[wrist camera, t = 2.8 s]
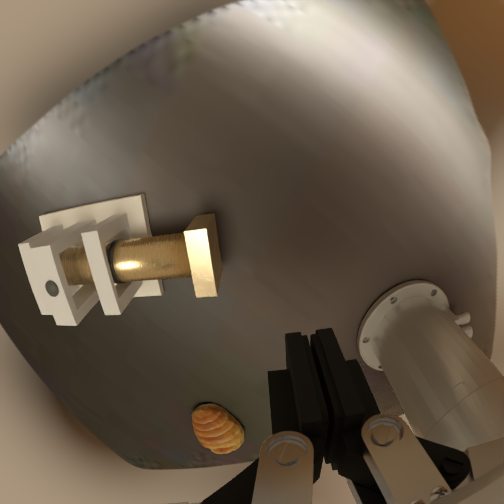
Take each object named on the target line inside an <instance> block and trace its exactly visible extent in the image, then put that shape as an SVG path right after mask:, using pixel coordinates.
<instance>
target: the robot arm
mask: <svg viewBox="0 0 504 504" xmlns="http://www.w3.org/2000/svg"><path fill="white" fill-rule="evenodd" d="M469 321H470V314H469V313H468V312H465V313H462V314H459V315H455V314H454V313H453V312H452V311H451V310H450V309H449V303H448V299H447V297H446V295H445V294H444V292H443V291H442V290H441V289H440V288H439V287H438V286H436V285H435V284H433V283H432V282H429V281H425V280H414V281H408V282H405V283H402V284H400V285H398V286H396V287H394V288H392V289H390V290H389V291H388V292H386V293H385V294H384V295H382V296H381V297H380V298H379V299H378V300H377V301H376V302H375V303H374V304H373V305H372V307H371V308H370V309H369V310H368V312H367V313H366V315H365V317H364V319H363V320H362V322H361V325H360V328H359V331H358V337H357V346H358V350H359V353H360V355H361V357H362V359H363V361H364V362H365V363H366V364H367V365H368V366H370V367H371V368H373V369H376V370H379V371H384V373H385V375H386V377H387V379H388V381H389V383H390V385H391V387H392V389H393V391H394V393H395V395H396V397H397V399H398V401H399V403H400V405H401V407H402V409H403V411H404V413H405V415H406V417H407V419H408V421H409V424H410V426H411V428H412V430H413V432H414V434H415V435H414V434H413V432H412V431H411V429H410V428H409V426H408V425H407V423H406V422H405V421H404V420H403V419H402V418H400V417H399V416H397V415H394V414H390V413H382V414H381V413H380V411H379V409H378V406H377V404H376V401H375V399H374V397H373V394H372V392H371V390H370V388H369V385H368V383H367V381H366V378H365V376H364V374H363V372H362V369H361V367H360V365H359V363H358V361H357V360H356V359H354V360H348V361H345V359H344V356H343V354H342V351H341V349H340V347H339V344H338V342H337V339H336V337H335V335H334V332H333V330H332V328H327V329H319V330H316V334H312V335H311V339H310V345H309V341H308V338H307V335H304V336H302V335H301V332H296V333H287V334H285V344H286V366H287V369H286V370H277V371H268V382H269V395H270V408H271V420H272V433H273V435H272V436H270V437H269V438H267V439H266V440H265V442H264V443H263V444H262V447H261V450H260V456H259V458H258V459H257V460H255V461H254V462H253V463H252V464H251V465H250V466H248V467H247V468H246V469H245V470H243V471H242V472H241V473H240V474H238V475H237V476H236V477H235V478H233V479H232V480H231V481H229V482H228V483H227V484H225V485H224V486H223V487H221V488H220V489H219V490H217V491H216V492H215V493H213V494H212V495H210V496H209V497H208V498H206V499H205V500H203V501H202V502H200V503H191V504H312V495H313V484H314V483H315V482H316V481H317V480H318V478H319V477H320V472H321V467H322V462H323V457H324V459H325V463H326V464H329V463H331V466H332V470H337V469H338V474H339V475H341V476H344V477H345V478H346V480H347V483H348V485H349V488H350V490H351V492H352V494H353V497H354V499H355V501H356V503H357V504H504V376H503V375H502V374H501V373H500V371H499V370H498V369H497V368H496V367H495V365H494V364H493V363H492V362H491V361H490V360H489V358H488V357H487V356H486V355H485V354H484V353H483V352H482V351H481V349H480V348H479V347H478V346H477V345H476V344H475V343H474V342H473V341H472V340H471V338H472V336H473V330H472V328H471V326H470V325H466V326H463V327H459V326H458V325H462V324H466V323H469ZM170 504H189V503H188V502H182V503H170Z"/></svg>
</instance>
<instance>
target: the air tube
mask: <svg viewBox="0 0 504 504" xmlns="http://www.w3.org/2000/svg"><path fill="white" fill-rule="evenodd" d="M104 247H105V251H106V255H107V259H108V263H109V267H110V270H111V274H112V277H113V281H114V283H116V284H121V283H127V282H133V281H146V280H159V279H172V278H184V277H192V278H193V283H194V288H195V293H196V297H209V296H217V294H218V289H219V284H220V280H221V275H222V271H223V268H222V261H221V254H220V248H219V241H218V233H217V226H216V219H215V213H213V214H204V215H196V217H195V218H194V219H193V220H192V222H191V223H190V224H189V226H188V227H187V228H186V229H185V231H184V233H176V234H168V235H159V236H151V237H143V238H135V239H127V240H122V239H118V240H112V241H111V242H105V243H104ZM59 257H60V260H61V264H62V267H63V270H64V274H65V277H66V280H67V283H68V286H73V285H89V284H95V283H94V280H93V276H92V273H91V270H90V266H89V263H88V259H87V255H86V251H85V248H84V245H83V246H76V247H69V248H67V249H66V250H64V251H63V252H61V253H60V254H59Z"/></svg>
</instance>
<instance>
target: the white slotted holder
mask: <svg viewBox="0 0 504 504" xmlns="http://www.w3.org/2000/svg"><path fill="white" fill-rule="evenodd" d="M39 218H40V223H41V227H42V231H43V232H41V233H39V234H37V235H35V236H33V237H31V238H29V239H27V240H26V241H24V242H22V243H20V244H18V246H19V249H20V253H21V256H22V260H23V263H24V266H25V269H26V272H27V275H28V278H29V281H30V284H31V287H32V290H33V293H34V295H35V298H36V301H37V303H38V306H39V308H40V311H41V313H42V315H53V317H54V319H55V321H56V324H57V325H70V326H77V325H78V324H79V323H80V321H81V320H82V319H83V318H84V317H85V316H86V314H87V313H88V312H89V311H90V310H91V309H92V307H93V306H94V305H95V304H96V303H97V302H98V300H99V299H100V302H101V304H102V307H103V310H104V313H105V315H121V314H122V312H123V311H124V309H125V308H126V307H127V305H128V304H129V302H130V301H131V300H132V298H133V297H141V296H158V295H162V294H163V292H164V288H163V284H162V280H161V279H159V280H146V281H133V282H127V283H121V284H116V283H114V281H113V277H112V274H111V270H110V267H109V263H108V259H107V255H106V251H105V247H104V243H105V242H111V241H112V240H118V239H122V240H127V239H135V238H143V237H151V236H152V234H151V229H150V224H149V218H148V213H147V207H146V201H145V195H144V194H139V195H133V196H128V197H122V198H117V199H112V200H107V201H101V202H97V203H92V204H87V205H82V206H78V207H73V208H69V209H64V210H60V211H56V212H52V213H47V214H44V215H41V216H39ZM83 245H84V248H85V251H86V255H87V259H88V263H89V266H90V270H91V273H92V276H93V280H94V283H95V284H89V285H73V286H68V283H67V280H66V277H65V274H64V270H63V267H62V264H61V260H60V257H59V254H60V253H61V252H63V251H64V250H66V249H67V248H69V247H76V246H83Z"/></svg>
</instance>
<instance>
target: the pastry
mask: <svg viewBox="0 0 504 504" xmlns="http://www.w3.org/2000/svg"><path fill="white" fill-rule="evenodd" d="M192 424H193V429H194V431H195V435H196V436H197V438H198V440H199V442H200V443H201V444H202V445H203V446H204V447H207V448H210V449H211V451H212V452H214V453H218V454H226V453H229V452H231V451H233V450H236V449H237V448H239V447H240V446H241V444H242V443H243V442H244V430H243V428H242V426H241V424H240V423H239V422H238V421H237V420H236V419H235V418H234V417H233V416H232V415H231V414H230V413H229V412H228V411H226V410H225V409H224V408H223V407H220V406H218V405H216V404H211V403H210V404H203V405H200V406H198V407H197V408H196V409H195V410H194V411H193V412H192Z"/></svg>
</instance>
